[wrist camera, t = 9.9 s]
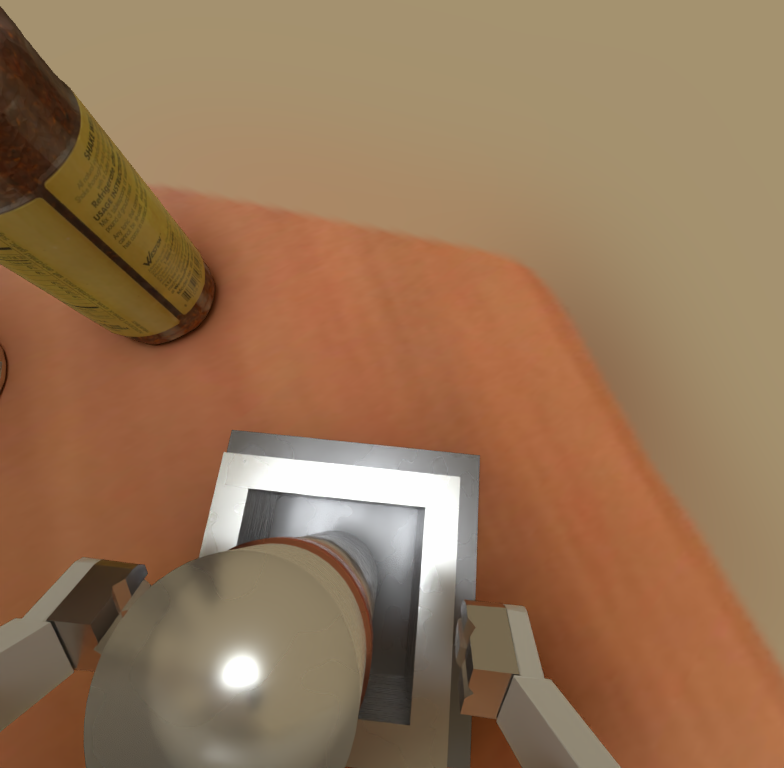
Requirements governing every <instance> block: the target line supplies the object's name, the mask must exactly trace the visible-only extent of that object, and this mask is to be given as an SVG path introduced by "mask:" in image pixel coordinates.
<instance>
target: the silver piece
mask: <svg viewBox="0 0 784 768" xmlns="http://www.w3.org/2000/svg"><path fill="white" fill-rule="evenodd" d="M5 376H6V360H5V356H4V352H3V350H2V348H1V347H0V392H1V389H2V386H3V383H4V381H5Z"/></svg>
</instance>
